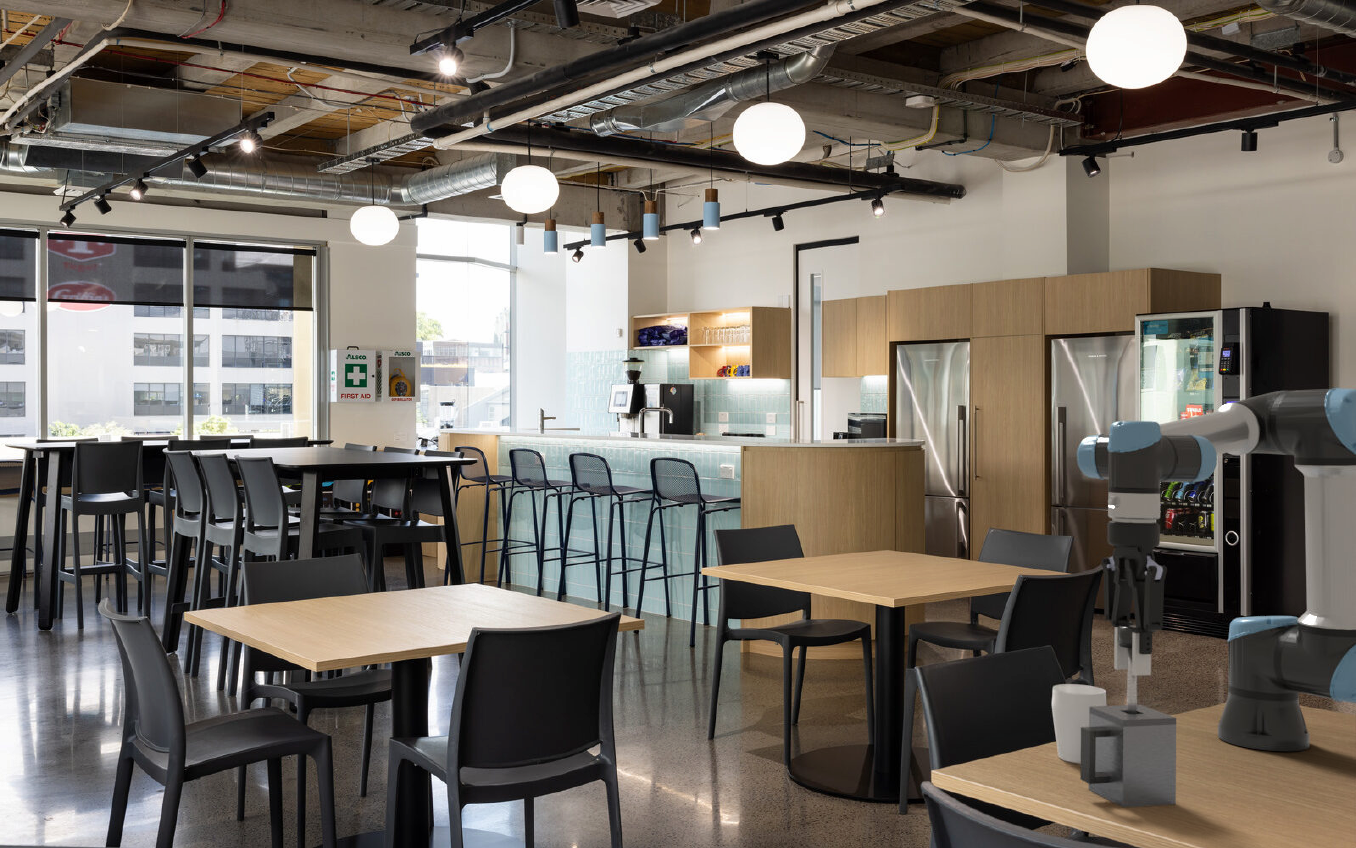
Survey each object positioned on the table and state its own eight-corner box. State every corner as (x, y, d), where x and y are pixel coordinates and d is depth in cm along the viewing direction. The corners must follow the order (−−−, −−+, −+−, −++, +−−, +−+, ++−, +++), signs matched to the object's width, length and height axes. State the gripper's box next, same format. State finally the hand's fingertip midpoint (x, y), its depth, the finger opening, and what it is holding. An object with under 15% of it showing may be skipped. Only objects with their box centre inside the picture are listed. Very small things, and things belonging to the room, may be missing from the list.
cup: (1110, 768, 194) (1111, 696, 194) (1054, 764, 195) (1055, 693, 196) (1101, 754, 202) (1102, 685, 203) (1048, 750, 204) (1048, 682, 204)
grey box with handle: (1139, 786, 183) (1140, 704, 183) (1175, 804, 174) (1176, 718, 174) (1068, 790, 180) (1069, 707, 180) (1101, 808, 171) (1102, 721, 172)
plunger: (1137, 753, 181) (1138, 623, 182) (1162, 764, 175) (1163, 629, 176) (1101, 755, 180) (1102, 624, 180) (1125, 766, 174) (1126, 630, 174)
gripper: (1081, 516, 186) (1079, 662, 185) (1145, 524, 169) (1144, 684, 169) (1122, 517, 187) (1121, 661, 187) (1190, 524, 171) (1189, 682, 170)
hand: (1132, 671), depth 178 cm, fingers closed on plunger, 4 cm apart
